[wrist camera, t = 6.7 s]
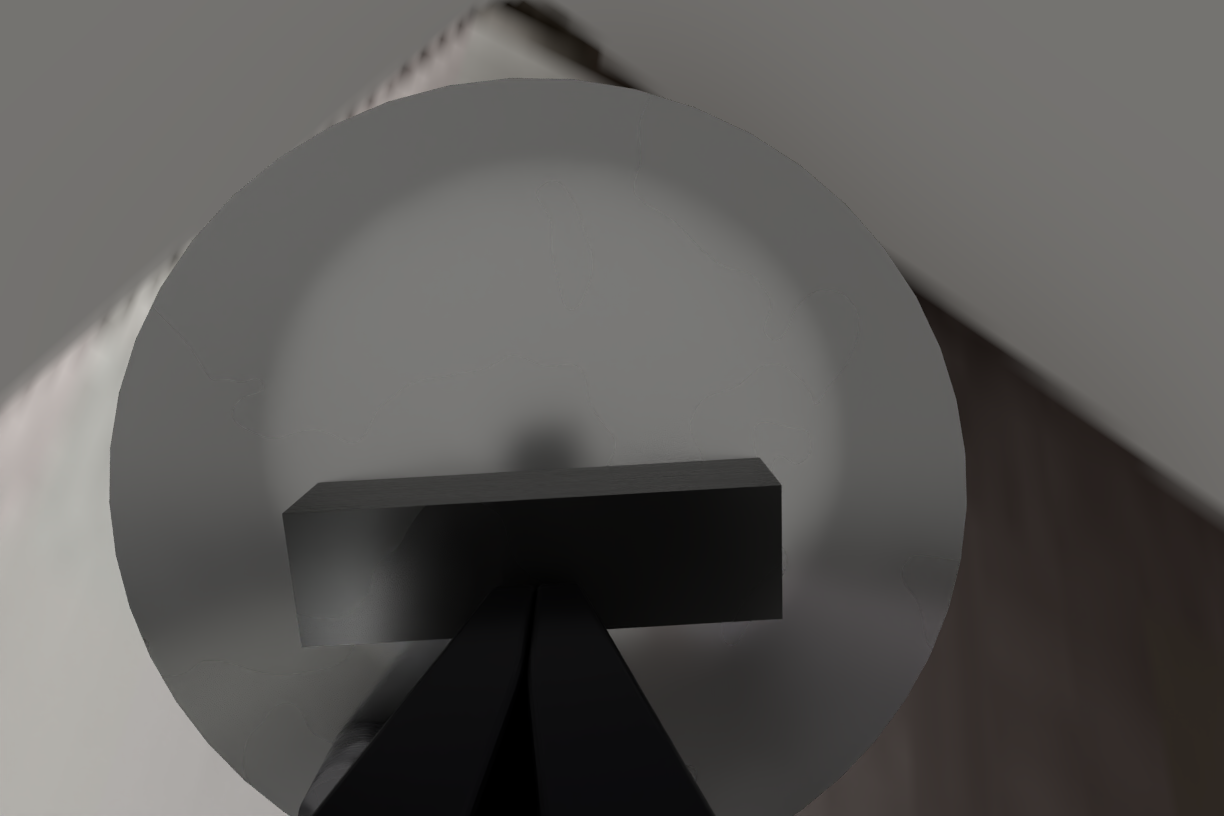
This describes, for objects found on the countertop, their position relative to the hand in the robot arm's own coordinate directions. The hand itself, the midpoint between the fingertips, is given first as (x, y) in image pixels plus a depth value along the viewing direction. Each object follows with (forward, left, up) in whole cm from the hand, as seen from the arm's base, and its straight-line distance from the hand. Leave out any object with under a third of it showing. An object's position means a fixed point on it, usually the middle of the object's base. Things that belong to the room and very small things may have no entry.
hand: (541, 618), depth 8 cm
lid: (0, +1, -2) cm, 2 cm away
